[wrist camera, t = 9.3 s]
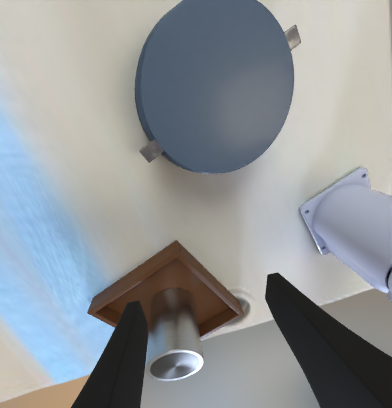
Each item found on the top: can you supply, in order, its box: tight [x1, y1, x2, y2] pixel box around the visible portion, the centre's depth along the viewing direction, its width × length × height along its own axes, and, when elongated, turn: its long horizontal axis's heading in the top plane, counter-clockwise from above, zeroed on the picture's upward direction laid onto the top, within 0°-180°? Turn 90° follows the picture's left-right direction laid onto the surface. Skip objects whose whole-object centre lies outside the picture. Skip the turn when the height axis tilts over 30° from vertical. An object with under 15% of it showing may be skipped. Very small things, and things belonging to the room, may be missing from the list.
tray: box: [87, 240, 244, 345], centre depth 24 cm, size 15×13×2 cm
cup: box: [146, 288, 203, 381], centre depth 22 cm, size 6×6×7 cm
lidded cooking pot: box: [135, 0, 301, 174], centre depth 13 cm, size 11×12×5 cm
